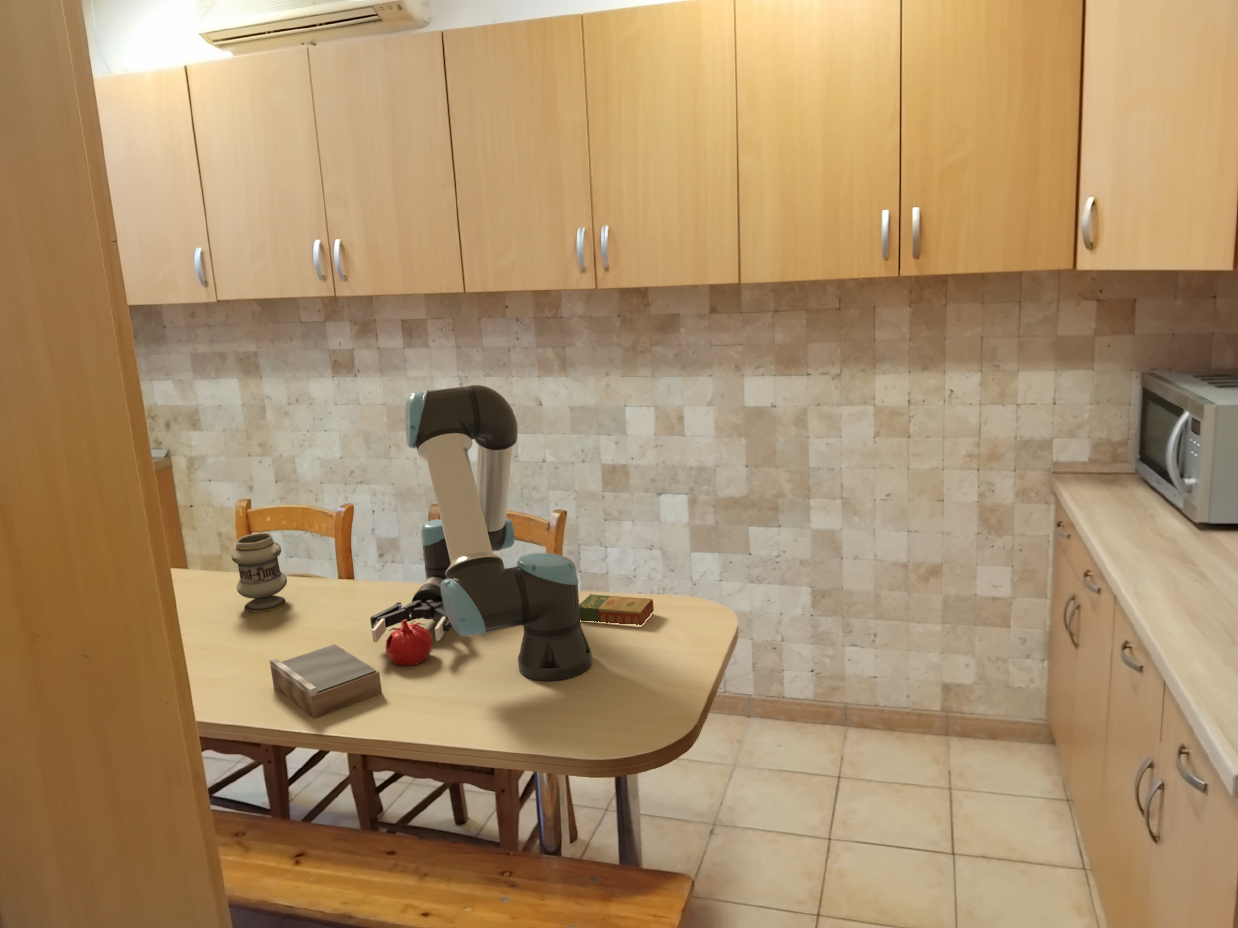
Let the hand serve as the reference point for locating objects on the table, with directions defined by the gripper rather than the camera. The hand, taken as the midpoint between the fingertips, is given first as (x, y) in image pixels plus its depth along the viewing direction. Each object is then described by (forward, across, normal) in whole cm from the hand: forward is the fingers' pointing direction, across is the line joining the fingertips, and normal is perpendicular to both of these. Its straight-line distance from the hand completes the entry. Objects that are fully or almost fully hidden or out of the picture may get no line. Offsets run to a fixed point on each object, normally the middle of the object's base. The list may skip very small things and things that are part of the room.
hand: (405, 635), depth 200 cm
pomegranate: (-1, 0, -6) cm, 6 cm away
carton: (-21, -43, -6) cm, 48 cm away
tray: (+12, +13, -6) cm, 19 cm away
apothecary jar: (-36, +48, -6) cm, 60 cm away
